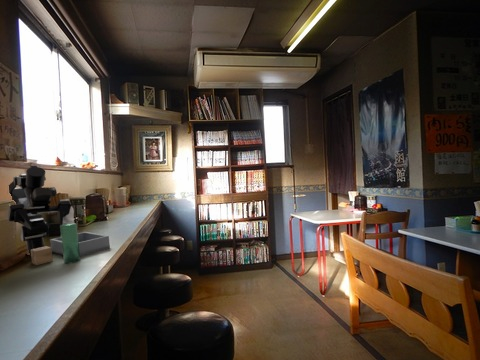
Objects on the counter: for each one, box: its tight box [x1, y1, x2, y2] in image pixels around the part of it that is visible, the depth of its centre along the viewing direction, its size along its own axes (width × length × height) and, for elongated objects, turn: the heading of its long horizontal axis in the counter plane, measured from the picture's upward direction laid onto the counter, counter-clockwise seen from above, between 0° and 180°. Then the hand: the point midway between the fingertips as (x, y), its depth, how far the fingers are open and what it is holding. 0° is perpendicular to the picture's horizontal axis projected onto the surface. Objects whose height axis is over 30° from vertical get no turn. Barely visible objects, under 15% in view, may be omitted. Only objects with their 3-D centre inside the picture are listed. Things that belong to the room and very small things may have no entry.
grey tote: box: [49, 231, 111, 257], centre depth 119 cm, size 22×14×5 cm, turn 50°
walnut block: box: [30, 245, 54, 266], centre depth 105 cm, size 5×5×5 cm
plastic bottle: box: [59, 198, 75, 225], centre depth 137 cm, size 6×7×20 cm
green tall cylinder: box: [59, 222, 81, 264], centre depth 102 cm, size 5×5×13 cm
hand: (47, 226), depth 102 cm, fingers open, 9 cm apart
